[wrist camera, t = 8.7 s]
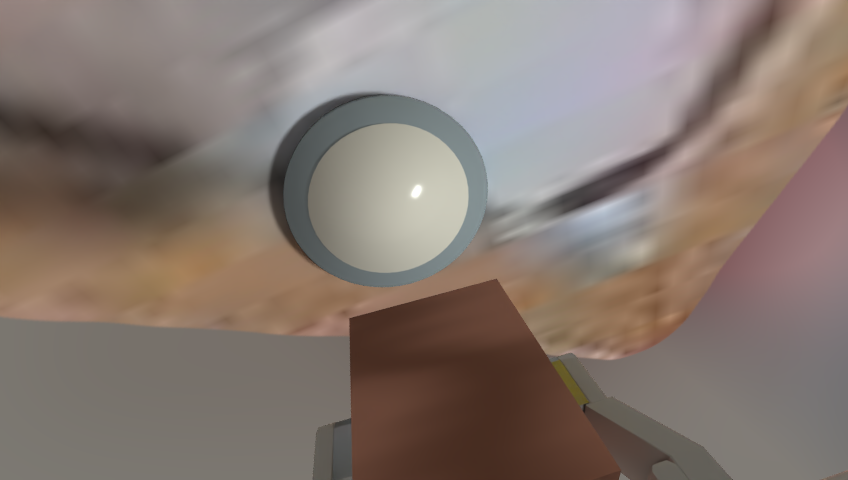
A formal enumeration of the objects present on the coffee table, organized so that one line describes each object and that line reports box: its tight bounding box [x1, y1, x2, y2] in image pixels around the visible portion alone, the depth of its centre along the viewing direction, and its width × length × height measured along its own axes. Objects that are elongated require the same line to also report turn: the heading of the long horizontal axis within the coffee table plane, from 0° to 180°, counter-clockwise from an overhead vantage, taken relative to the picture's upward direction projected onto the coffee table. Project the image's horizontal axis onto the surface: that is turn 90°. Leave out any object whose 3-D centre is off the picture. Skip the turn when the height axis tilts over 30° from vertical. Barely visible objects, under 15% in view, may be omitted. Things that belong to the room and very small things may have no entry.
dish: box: [283, 95, 488, 287], centre depth 24 cm, size 14×14×1 cm
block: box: [349, 279, 621, 480], centre depth 10 cm, size 5×5×6 cm
